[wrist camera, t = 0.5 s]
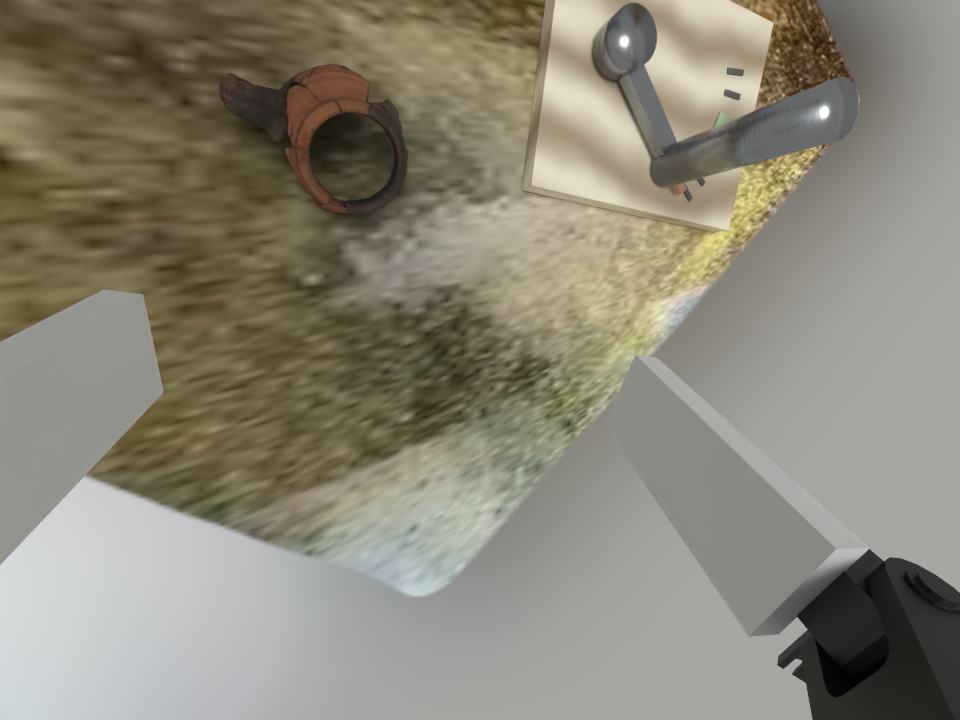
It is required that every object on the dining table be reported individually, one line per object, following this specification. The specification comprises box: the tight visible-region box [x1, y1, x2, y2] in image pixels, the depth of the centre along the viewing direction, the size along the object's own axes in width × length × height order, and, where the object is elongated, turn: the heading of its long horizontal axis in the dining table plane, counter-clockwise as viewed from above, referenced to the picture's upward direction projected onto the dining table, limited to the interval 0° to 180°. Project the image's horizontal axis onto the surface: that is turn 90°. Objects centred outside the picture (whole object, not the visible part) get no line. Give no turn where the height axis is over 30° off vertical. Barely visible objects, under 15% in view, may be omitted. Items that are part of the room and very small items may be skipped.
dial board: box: [522, 0, 773, 232], centre depth 37 cm, size 20×24×2 cm
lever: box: [594, 3, 858, 195], centre depth 29 cm, size 16×4×14 cm, turn 38°
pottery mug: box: [219, 65, 408, 214], centre depth 28 cm, size 12×9×8 cm
